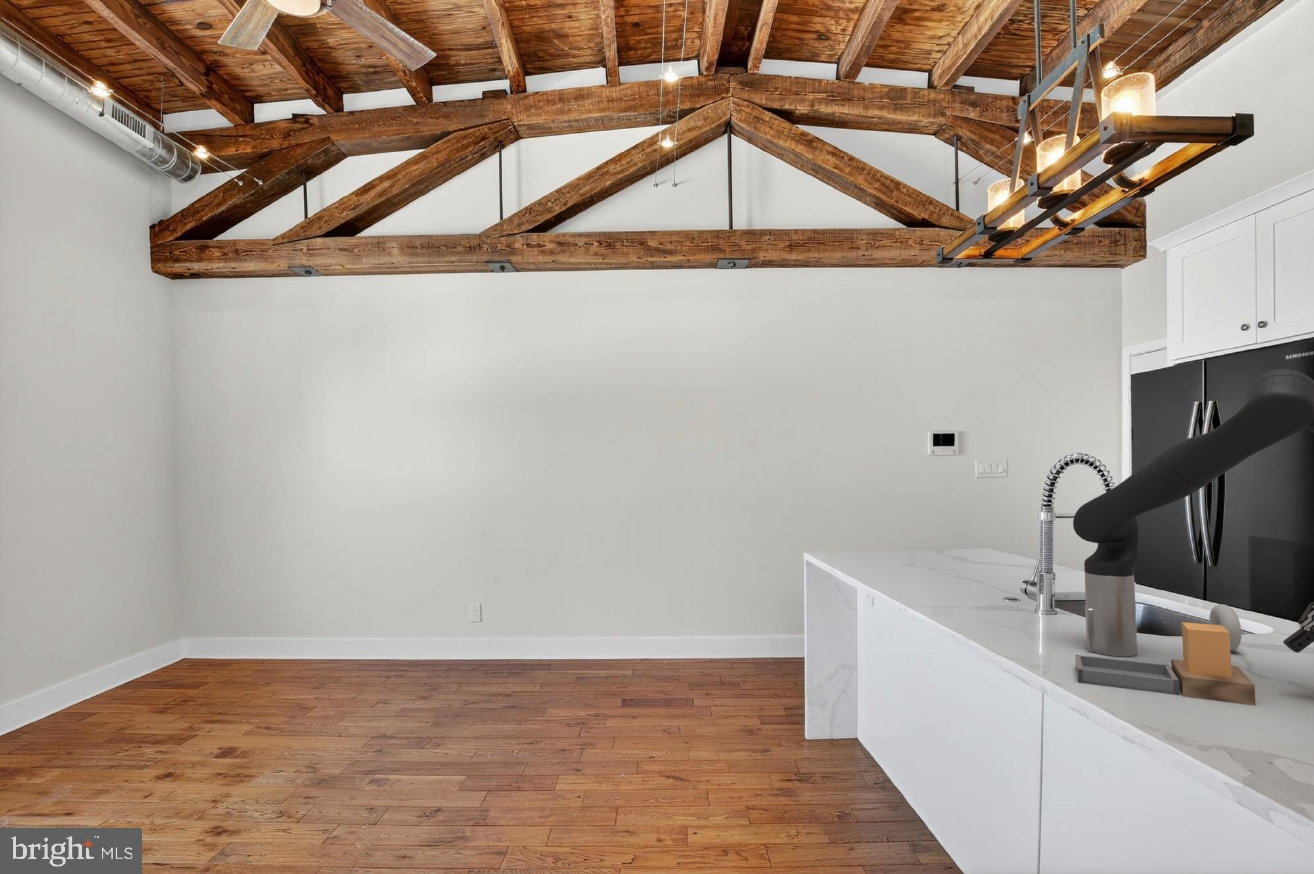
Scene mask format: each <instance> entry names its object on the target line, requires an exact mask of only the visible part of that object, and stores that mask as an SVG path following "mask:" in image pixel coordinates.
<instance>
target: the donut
mask: <svg viewBox="0 0 1314 874" xmlns="http://www.w3.org/2000/svg"><path fill="white" fill-rule="evenodd" d="M1209 613H1210V614H1209V620H1208V621H1209V623H1208V624H1211V625H1222V626H1223V627H1224V628H1225V629H1226V630H1227V631H1228V632H1229V633H1230V652H1232V651H1235V650H1236V649H1238V648H1239V647H1240V645H1241V642H1242V627H1241V623H1240V619H1239V617H1238V614H1237V613H1236V612H1235V610H1234V609H1233V608H1232V607H1231V606H1230V605H1227V604H1222V603H1220V604H1219V603H1218V604H1216V605H1214V606H1213V607H1212V608H1211V610H1210V612H1209Z"/></svg>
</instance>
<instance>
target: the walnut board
mask: <svg viewBox="0 0 1314 874" xmlns="http://www.w3.org/2000/svg"><path fill="white" fill-rule="evenodd" d="M1170 667H1171V669H1172V670H1173V672H1174V673H1175V675H1176V677H1177V678H1178V680H1179V687H1180V695H1182V697H1185V696H1186V698H1193V699H1201V700H1202V699H1203V700H1210V701H1217V702H1218V701H1219V702H1228V703H1235V704H1243V705H1248V706H1249V705H1251V706H1256V686H1255V685H1256V684H1254V683H1253V682H1252V680H1250V678H1249V677H1248V676H1247V675H1246V674H1245V673H1244V672H1243V670H1241V669H1240V667H1238V665H1231V674H1232V678H1229V677H1220V676H1211V675H1202V674H1193V673H1189V672H1188V670H1187V669H1186V667H1185V666H1184V664H1183V659H1181V660H1180V659H1173V658H1172V659H1170Z"/></svg>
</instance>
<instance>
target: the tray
mask: <svg viewBox="0 0 1314 874" xmlns="http://www.w3.org/2000/svg"><path fill="white" fill-rule="evenodd" d="M1074 658H1075V669H1076V675H1077V681H1078V684H1079V683H1080V684H1090V685H1095V686H1104V687H1111V688H1112V687H1113V688H1119V689H1127V690H1128V689H1129V690H1137V691H1145V692H1152V693H1160V694H1166V695H1167V694H1168V695H1169V694H1171V695H1175V694H1176V695H1177V696H1180V695H1181V692H1180V687H1179V680H1178V678H1177V677H1176V675H1175V673H1174V672H1173V670H1172V669H1171V664H1165V663H1156V662H1146V661H1139V660H1138V661H1136V660H1128V659H1127V660H1126V659H1120V658H1108V657H1103V656H1102V657H1100V656H1099V657H1098V656H1090V655H1089V656H1088V655H1080V654H1075V657H1074Z"/></svg>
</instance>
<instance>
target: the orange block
mask: <svg viewBox="0 0 1314 874" xmlns="http://www.w3.org/2000/svg"><path fill="white" fill-rule="evenodd" d="M1181 637H1182V660H1183V664H1184V666H1185V667H1186V669H1187V670H1188V672H1189V673H1193V674H1202V675H1211V676H1220V677H1229V678H1232V674H1231V666H1232V658H1231V657H1232V656H1231V653H1232V651H1230V633H1229V632H1228V631H1227V630H1226V629H1225V628H1224V627H1223V626H1222V625H1211V624H1210V623H1197V622H1186V621H1185V622H1184V621H1183V622H1181Z"/></svg>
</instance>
